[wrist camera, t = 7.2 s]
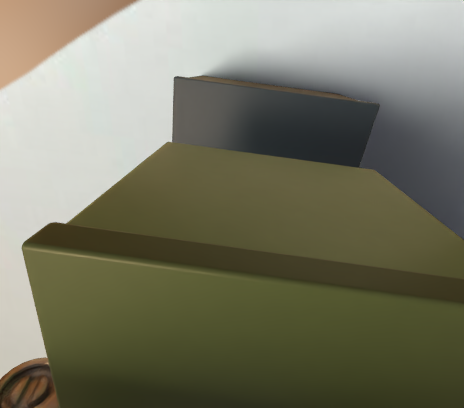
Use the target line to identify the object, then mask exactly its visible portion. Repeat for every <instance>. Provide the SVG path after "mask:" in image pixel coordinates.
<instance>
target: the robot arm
mask: <svg viewBox="0 0 464 408" xmlns="http://www.w3.org/2000/svg"><path fill="white" fill-rule="evenodd" d="M0 408H59V404H58V400H57V396H56V391H55V387H54V383H53V379H52V374H51V370H50V366H49V362H48V358H37V359H33V360H30V361H27V362H24V363H22V364H20V365H18V366H17V367H15V368H13V369H12V370H10V371H9V372H8V373H7V374H5V375H4V376H3V377H2V378H1V379H0Z"/></svg>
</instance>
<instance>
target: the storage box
mask: <svg viewBox="0 0 464 408" xmlns="http://www.w3.org/2000/svg"><path fill="white" fill-rule="evenodd" d="M378 109H379V104H377V103H372V102H365V101H358V100H355V99H352V98H349V97H346V96H342V95H339V94H334V93H327V92H319V91H312V90H305V89H297V88H290V87H282V86H275V85H267V84H260V83H253V82H245V81H238V80H230V79H223V78H215V77H208V76H197V77H190V78H186V77H179V76H177V77H174V96H173V134H172V142H173V143H181V144H188V145H195V146H203V147H210V148H217V149H225V150H232V151H239V152H247V153H254V154H261V155H269V156H276V157H283V158H291V159H298V160H305V161H313V162H320V163H327V164H335V165H342V166H349V167H357V168H359V165H360V162H361V159H362V156H363V153H364V150H365V147H366V144H367V141H368V138H369V135H370V132H371V129H372V126H373V123H374V120H375V118H376V115H377V112H378Z"/></svg>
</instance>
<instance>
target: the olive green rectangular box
mask: <svg viewBox="0 0 464 408" xmlns="http://www.w3.org/2000/svg"><path fill="white" fill-rule="evenodd" d="M22 251H23V256H24V260H25V264H26V268H27V273H28V277H29V281H30V285H31V290H32V294H33V298H34V302H35V306H36V311H37V315H38V319H39V323H40V328H41V332H42V336H43V340H44V345H45V349H46V353H47V357H48V362H49V366H50V370H51V374H52V379H53V383H54V387H55V391H56V396H57V400H58V404H59V408H464V240H463V239H462V238H461V237H459V236H458V235H457V234H455V233H454V232H453V231H452V230H450V229H449V228H448V227H447V226H445V225H444V224H443V223H441V222H440V221H439V220H438V219H436V218H435V217H434V216H433V215H431V214H430V213H429V212H427V211H426V210H425V209H424V208H422V207H421V206H420V205H419V204H417V203H416V202H415V201H413V200H412V199H411V198H410V197H408V196H407V195H406V194H405V193H403V192H402V191H401V190H399V189H398V188H397V187H396V186H394V185H393V184H392V183H391V182H389V181H388V180H387V179H385V178H384V177H383V176H382V175H380V174H379V173H378V172H376V171H375V170H372V169H364V168H357V167H349V166H342V165H335V164H327V163H320V162H313V161H305V160H298V159H291V158H283V157H276V156H269V155H261V154H254V153H247V152H239V151H232V150H225V149H217V148H210V147H203V146H195V145H188V144H181V143H173V142H167V143H166V144H164V145H163V146H162V147H161V148H159V149H158V150H157V151H156V152H154V153H153V154H152V155H151V156H149V157H148V158H147V159H146V160H144V161H143V162H142V163H141V164H140V165H138V166H137V167H136V168H135V169H133V170H132V171H131V172H130V173H128V174H127V175H126V176H125V177H123V178H122V179H121V180H120V181H118V182H117V183H116V184H115V185H114V186H112V187H111V188H110V189H109V190H107V191H106V192H105V193H104V194H102V195H101V196H100V197H99V198H97V199H96V200H95V201H94V202H92V203H91V204H90V205H89V206H87V207H86V208H85V209H84V210H83V211H81V212H80V213H79V214H78V215H76V216H75V217H74V218H73V219H71V220H70V221H69V222H68V223H66V224H64V223H57V222H54V223H50V224H48V225H47V226H45V227H44V228H42V229H41V230H40V231H38V232H37V233H36V234H34V235H33V236H32V237H30V238H29V239H28V240H26V241H25V242H24V243H23V245H22Z"/></svg>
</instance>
